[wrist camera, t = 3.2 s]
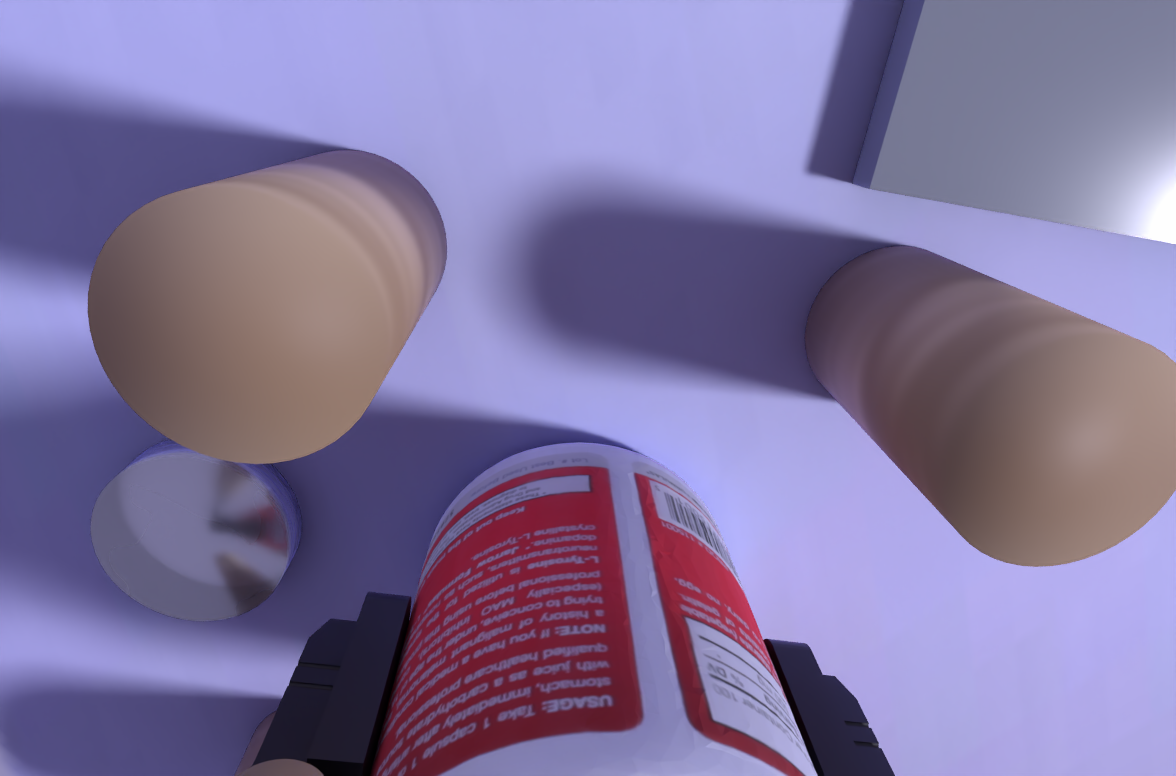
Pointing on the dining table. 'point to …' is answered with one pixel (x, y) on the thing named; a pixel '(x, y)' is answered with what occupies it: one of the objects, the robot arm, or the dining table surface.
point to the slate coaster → (1032, 111)
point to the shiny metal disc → (196, 532)
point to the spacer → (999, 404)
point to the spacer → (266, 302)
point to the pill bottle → (584, 633)
